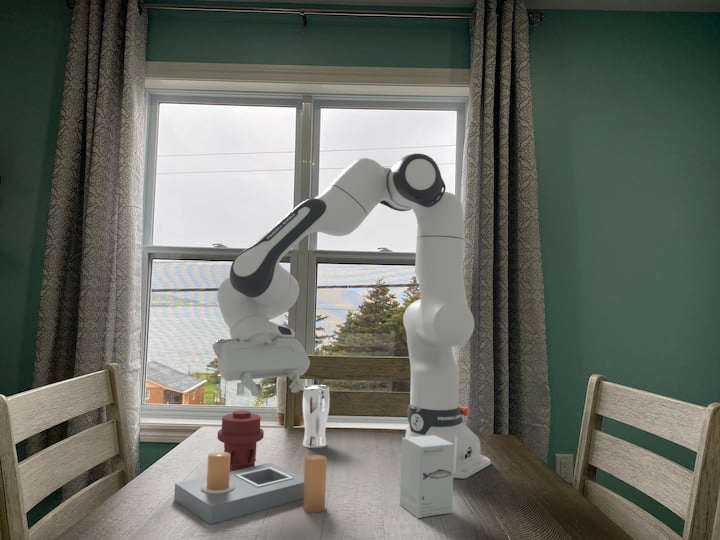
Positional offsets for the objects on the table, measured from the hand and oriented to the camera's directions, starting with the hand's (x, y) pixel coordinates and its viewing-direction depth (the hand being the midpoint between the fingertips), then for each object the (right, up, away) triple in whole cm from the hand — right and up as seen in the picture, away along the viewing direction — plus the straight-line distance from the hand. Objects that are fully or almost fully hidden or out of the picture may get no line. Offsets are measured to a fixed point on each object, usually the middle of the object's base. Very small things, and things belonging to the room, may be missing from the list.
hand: (278, 392), depth 110 cm
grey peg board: (-6, -19, -7) cm, 21 cm away
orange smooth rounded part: (+8, -19, -10) cm, 23 cm away
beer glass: (+5, -21, +32) cm, 38 cm away
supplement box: (+29, -20, -9) cm, 36 cm away
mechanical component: (-10, -20, +11) cm, 25 cm away
